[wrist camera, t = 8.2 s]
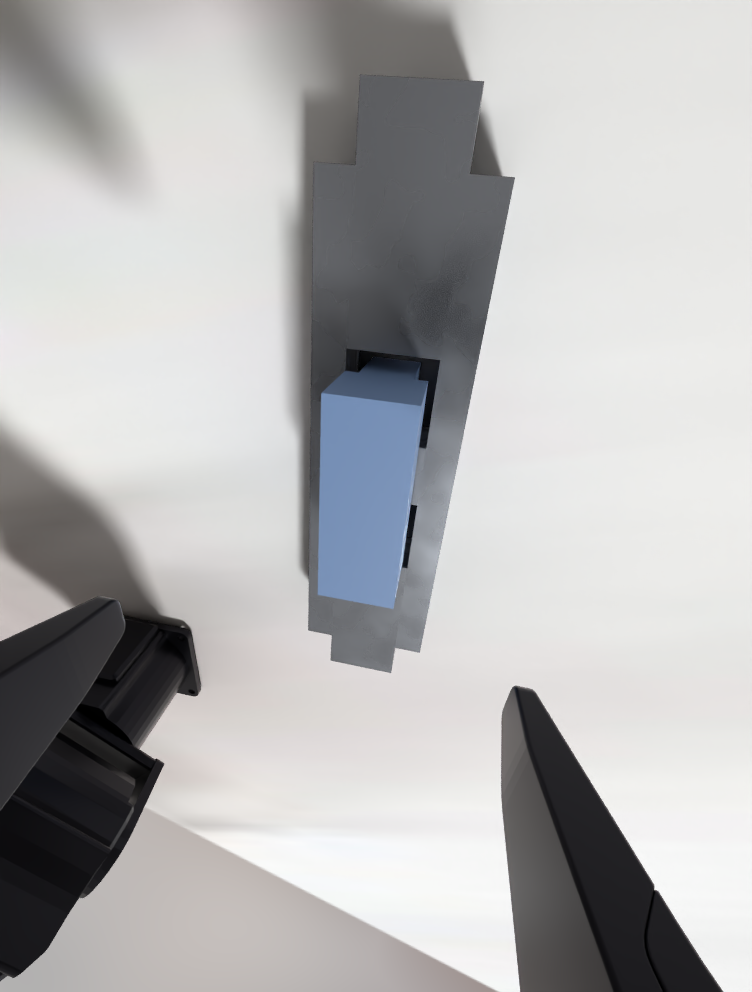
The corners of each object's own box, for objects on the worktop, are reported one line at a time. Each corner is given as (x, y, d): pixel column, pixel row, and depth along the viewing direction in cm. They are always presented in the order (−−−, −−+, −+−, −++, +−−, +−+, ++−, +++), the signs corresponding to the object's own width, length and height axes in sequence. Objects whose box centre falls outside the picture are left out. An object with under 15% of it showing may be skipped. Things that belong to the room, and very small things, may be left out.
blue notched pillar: (409, 525, 21) (393, 608, 16) (351, 515, 22) (317, 594, 17) (433, 363, 18) (421, 406, 12) (361, 355, 18) (321, 393, 13)
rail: (418, 642, 25) (414, 677, 23) (320, 623, 26) (307, 655, 24) (521, 112, 13) (533, 84, 11) (336, 101, 14) (314, 72, 12)
